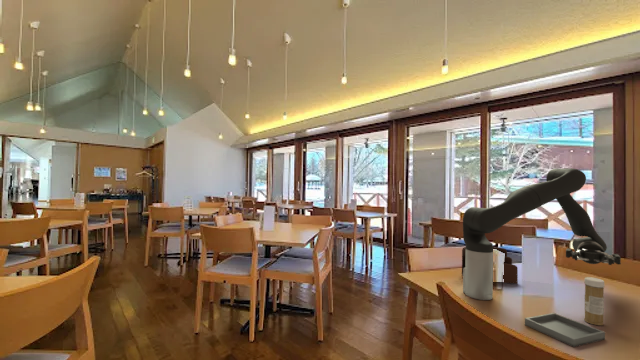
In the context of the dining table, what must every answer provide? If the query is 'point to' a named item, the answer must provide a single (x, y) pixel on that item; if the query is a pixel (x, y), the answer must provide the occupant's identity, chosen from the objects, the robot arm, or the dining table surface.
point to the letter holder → (509, 269)
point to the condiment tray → (565, 329)
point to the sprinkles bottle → (594, 300)
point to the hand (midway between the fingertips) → (592, 259)
